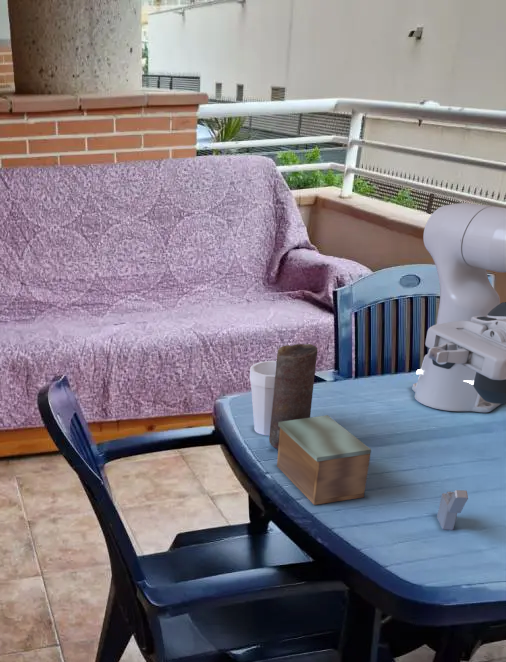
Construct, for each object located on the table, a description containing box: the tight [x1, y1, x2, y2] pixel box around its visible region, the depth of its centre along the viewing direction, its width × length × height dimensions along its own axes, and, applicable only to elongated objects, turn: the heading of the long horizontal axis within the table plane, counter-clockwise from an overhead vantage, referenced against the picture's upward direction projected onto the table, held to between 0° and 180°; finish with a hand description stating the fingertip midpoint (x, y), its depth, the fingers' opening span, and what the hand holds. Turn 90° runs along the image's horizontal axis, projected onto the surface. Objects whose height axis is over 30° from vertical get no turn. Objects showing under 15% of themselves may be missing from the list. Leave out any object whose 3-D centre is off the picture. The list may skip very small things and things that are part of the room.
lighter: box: [436, 489, 469, 531], centre depth 116 cm, size 7×2×8 cm, turn 171°
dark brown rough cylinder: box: [268, 343, 318, 450], centre depth 141 cm, size 8×7×20 cm
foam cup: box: [249, 360, 277, 437], centre depth 150 cm, size 10×9×13 cm
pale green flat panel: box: [278, 414, 372, 462], centre depth 129 cm, size 10×16×1 cm, turn 12°
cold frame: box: [276, 428, 371, 506], centre depth 131 cm, size 9×16×8 cm, turn 12°
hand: (432, 355), depth 125 cm, fingers closed
